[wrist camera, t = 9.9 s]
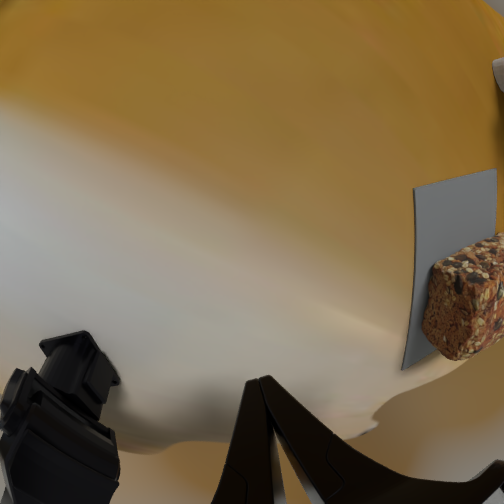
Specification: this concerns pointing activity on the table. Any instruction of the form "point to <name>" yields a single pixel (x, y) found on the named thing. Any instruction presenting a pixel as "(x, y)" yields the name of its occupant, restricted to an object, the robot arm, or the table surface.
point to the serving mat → (445, 238)
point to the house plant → (499, 72)
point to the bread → (467, 300)
